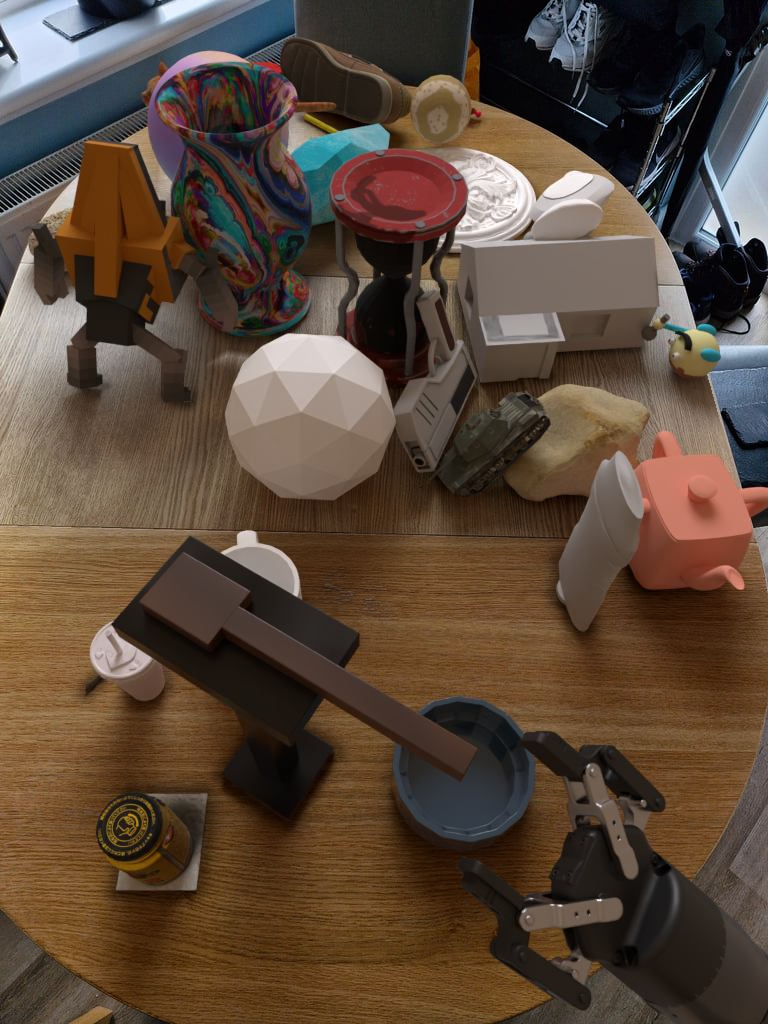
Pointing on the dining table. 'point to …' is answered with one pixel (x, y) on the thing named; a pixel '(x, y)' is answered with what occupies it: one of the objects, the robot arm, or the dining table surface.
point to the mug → (265, 562)
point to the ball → (164, 139)
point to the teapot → (692, 520)
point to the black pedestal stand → (252, 680)
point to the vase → (241, 188)
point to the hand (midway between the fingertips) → (499, 797)
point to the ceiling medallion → (488, 197)
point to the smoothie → (126, 665)
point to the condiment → (153, 839)
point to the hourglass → (394, 251)
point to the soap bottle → (570, 207)
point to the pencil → (319, 124)
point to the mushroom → (440, 109)
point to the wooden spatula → (293, 659)
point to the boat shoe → (343, 82)
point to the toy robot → (124, 266)
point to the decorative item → (50, 227)
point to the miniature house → (554, 299)
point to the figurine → (688, 347)
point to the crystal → (334, 162)
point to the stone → (577, 442)
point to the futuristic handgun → (434, 389)
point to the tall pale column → (601, 540)
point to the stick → (93, 683)
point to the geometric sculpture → (309, 416)
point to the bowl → (466, 779)
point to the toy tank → (491, 443)
